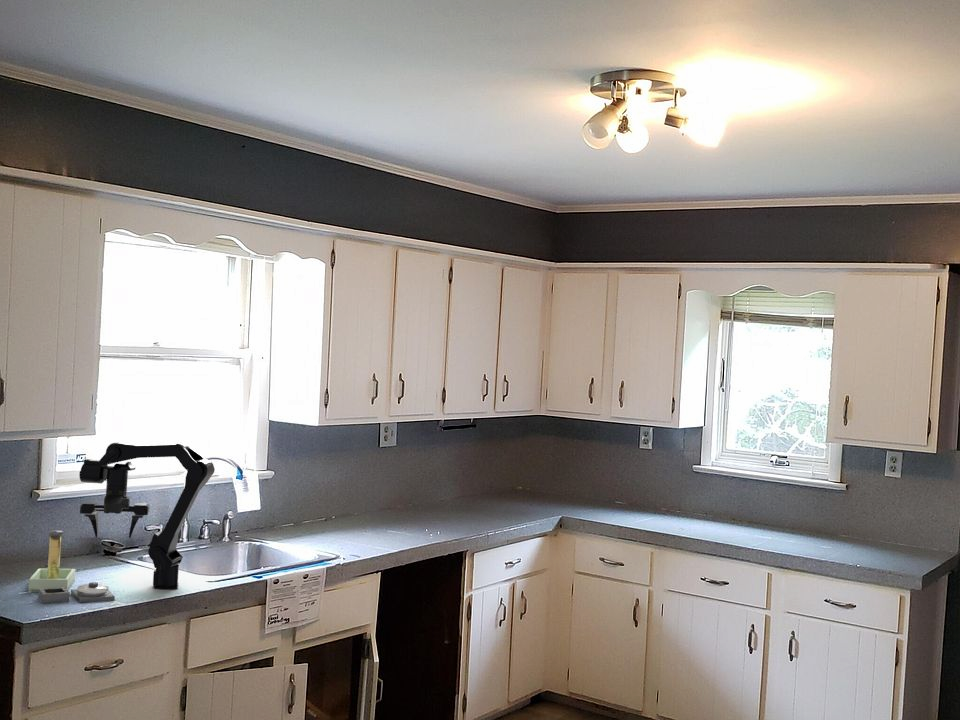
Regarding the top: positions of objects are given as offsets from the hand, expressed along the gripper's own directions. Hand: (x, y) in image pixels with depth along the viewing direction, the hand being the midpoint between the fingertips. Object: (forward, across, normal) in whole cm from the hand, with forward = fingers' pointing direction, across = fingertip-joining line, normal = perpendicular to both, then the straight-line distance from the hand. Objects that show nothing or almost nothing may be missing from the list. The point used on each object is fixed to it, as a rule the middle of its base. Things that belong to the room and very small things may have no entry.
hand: (113, 537), depth 290 cm
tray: (+13, -15, -6) cm, 21 cm away
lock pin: (+12, -15, -6) cm, 20 cm away
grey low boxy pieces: (+13, -7, -20) cm, 25 cm away
